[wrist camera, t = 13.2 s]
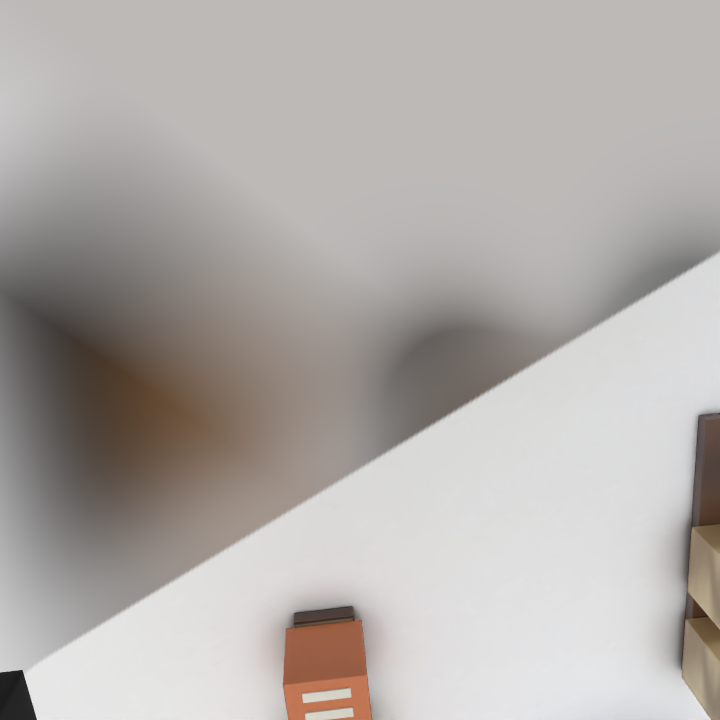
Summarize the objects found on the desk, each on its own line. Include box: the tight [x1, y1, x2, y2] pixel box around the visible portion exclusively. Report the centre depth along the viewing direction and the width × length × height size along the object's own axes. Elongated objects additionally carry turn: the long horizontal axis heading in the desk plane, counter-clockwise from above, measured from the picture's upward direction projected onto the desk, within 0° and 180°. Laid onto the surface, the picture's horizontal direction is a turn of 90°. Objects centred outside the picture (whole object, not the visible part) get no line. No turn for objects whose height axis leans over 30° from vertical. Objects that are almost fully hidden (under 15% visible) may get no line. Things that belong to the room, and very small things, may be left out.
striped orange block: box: [283, 620, 372, 720], centre depth 39 cm, size 4×4×5 cm
